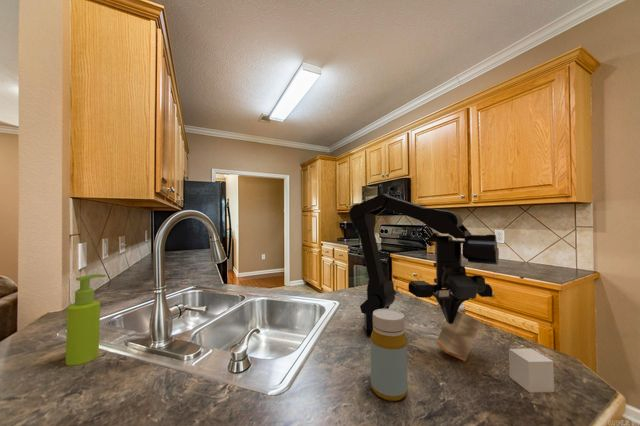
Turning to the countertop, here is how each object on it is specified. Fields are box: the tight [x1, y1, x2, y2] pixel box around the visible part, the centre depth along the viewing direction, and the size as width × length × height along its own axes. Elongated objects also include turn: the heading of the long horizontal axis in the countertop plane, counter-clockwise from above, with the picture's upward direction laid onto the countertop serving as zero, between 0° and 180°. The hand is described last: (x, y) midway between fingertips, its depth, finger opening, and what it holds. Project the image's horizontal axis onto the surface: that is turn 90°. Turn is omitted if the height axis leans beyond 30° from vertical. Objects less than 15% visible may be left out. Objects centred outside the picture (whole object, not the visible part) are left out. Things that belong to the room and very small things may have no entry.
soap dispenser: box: [64, 273, 107, 367], centre depth 62 cm, size 6×7×20 cm
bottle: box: [370, 308, 408, 402], centre depth 50 cm, size 7×7×15 cm
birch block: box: [436, 311, 482, 362], centre depth 63 cm, size 5×5×10 cm
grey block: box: [508, 348, 555, 394], centre depth 52 cm, size 5×5×6 cm
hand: (449, 323), depth 62 cm, fingers closed
